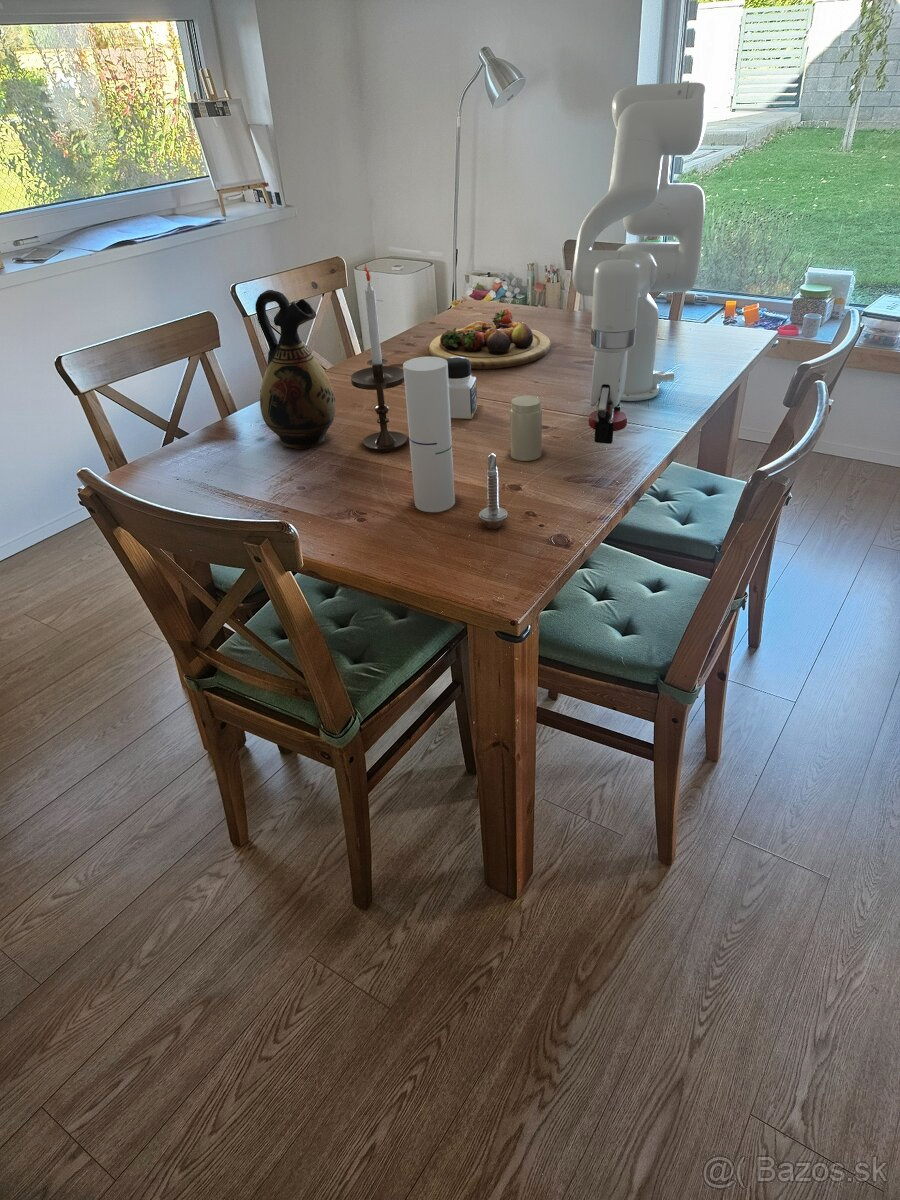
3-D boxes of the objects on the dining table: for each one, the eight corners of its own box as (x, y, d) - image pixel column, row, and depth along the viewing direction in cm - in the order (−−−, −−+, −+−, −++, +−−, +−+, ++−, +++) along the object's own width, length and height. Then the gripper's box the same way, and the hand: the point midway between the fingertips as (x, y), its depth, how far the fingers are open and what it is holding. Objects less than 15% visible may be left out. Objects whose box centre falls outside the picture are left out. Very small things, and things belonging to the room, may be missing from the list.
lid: (595, 433, 147) (596, 424, 146) (583, 420, 153) (584, 411, 152) (631, 429, 148) (632, 420, 147) (619, 416, 153) (619, 407, 152)
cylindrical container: (413, 495, 148) (402, 358, 134) (453, 492, 148) (445, 355, 134) (415, 513, 142) (403, 372, 128) (456, 510, 142) (449, 368, 129)
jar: (536, 446, 163) (536, 393, 157) (545, 458, 158) (546, 404, 152) (507, 450, 162) (506, 397, 156) (515, 462, 158) (514, 408, 151)
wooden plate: (474, 327, 235) (473, 298, 231) (572, 342, 219) (573, 310, 214) (405, 359, 214) (402, 327, 210) (508, 378, 198) (507, 344, 193)
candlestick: (352, 440, 171) (330, 262, 151) (400, 429, 174) (385, 255, 155) (368, 458, 163) (347, 273, 143) (419, 447, 166) (405, 265, 146)
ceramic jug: (352, 428, 176) (334, 283, 159) (320, 458, 164) (297, 304, 147) (282, 422, 181) (258, 281, 164) (246, 450, 169) (216, 300, 152)
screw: (513, 523, 137) (496, 535, 135) (491, 515, 140) (473, 526, 137) (513, 451, 130) (494, 462, 127) (489, 444, 133) (470, 455, 130)
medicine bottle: (471, 419, 177) (469, 364, 170) (439, 418, 178) (436, 364, 172) (477, 407, 183) (475, 354, 176) (446, 406, 184) (443, 353, 178)
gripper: (600, 323, 149) (595, 416, 159) (581, 351, 136) (577, 451, 146) (641, 324, 147) (634, 419, 157) (627, 353, 134) (620, 455, 143)
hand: (607, 434), depth 151 cm, fingers closed on lid, 6 cm apart
